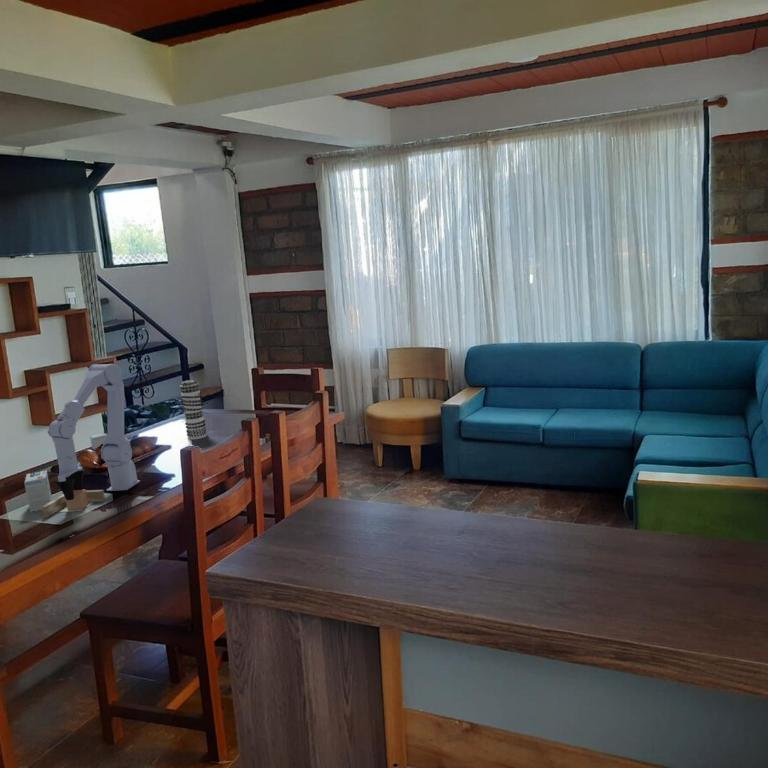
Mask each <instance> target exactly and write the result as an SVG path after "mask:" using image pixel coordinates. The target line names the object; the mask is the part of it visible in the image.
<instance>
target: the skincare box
mask: <svg viewBox="0 0 768 768" xmlns="http://www.w3.org/2000/svg"><path fill="white" fill-rule="evenodd" d="M89 436H90V437H89V438H90V444H91V449H92V448H93V449H95V448H97V447H99V446H100V445H101V444H103V441H104V439H105V438H106V437H107V436H108V433H100V434H99V433H98V434H95V435H89Z"/></svg>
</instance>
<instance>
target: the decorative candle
mask: <svg viewBox="0 0 768 768" xmlns="http://www.w3.org/2000/svg"><path fill="white" fill-rule="evenodd" d="M179 387H180V391H181V392H180V394H181V398H180V401H181V402H180V403H181V406H182V407H181V408H182V412H183V413H184V417H185V419H184V421H185V422H184V425H185V429H186V430H185V432H186V436H187V439H188V440H199V439H200V440H201V439H203V438H206V437H207V436H208V434H207V433H208V431H207V427H206V419H205V417H204V413H203V411H204V407H202V406H203V405H204V403H202V402H203V399H201V398H203V395H202V391H201V390H200V387H199V382H197V381H196V380H195V379H189V380H187V379H186V380H184V381H182V382H181V384H180V385H179Z"/></svg>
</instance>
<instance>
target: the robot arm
mask: <svg viewBox="0 0 768 768" xmlns="http://www.w3.org/2000/svg"><path fill="white" fill-rule="evenodd" d="M99 387H102V388H104V390H105V391H106V392H107V397H106V398H107V435H108V436H107V437H106V438H105V439H104V441H103V446H102V449H101V458H102V459H103V460H104V461H105V462H106V464H107V465H106V466H107V471H108V474H109V475H108V476H109V481H110V486H109V488H107V489H106V492H110V491H111V492H112V491H114V492H115V491H116V492H117V491H128V490H130V489H131V488H132V487H134V486H136V485H137V484H139V483H140V482H141V479H138V475H137V470H136V469H137V468H136V465H135V462H134V461H132V460H131V459H132V457H133V450H132V446H131V441H130V440H129V438H127V436H125V385H124V381H123V369H121V368H120V367H119V366H118V365H117V364H116V363H108V364H106V363H105V364H103V363H102V364H97V363H94V364H91V365H90V366H89V367H88V370H87V371H86V372H85V378H84V380H83V382H82V384H81V386H80V388H79V390H78V391H77V394H76V395H75V396H74V398H73V399H72V400H69V401H67V402H65V404H64V408H63V409H62V410H61V412H60V414H59V415H57V418H56V419H55V420H54V421H52V422H51V423H50V424H49V426H48V430H47V434H48V436H49V437H51V439H52V442H53V443H54V447H55V455H56V458H57V464H58V468H59V469H58V470H59V471H58V472H59V473H58V476H57V479H56V480H55V485H57V486H58V488H59V489H60V490H61V492H62V495H63V494H64V496H65V498H66V500H73V499H74V490H83V482H84V481H83V480H84V475H85V472H86V469H85V468H83V466H82V465H81V462H79V461H78V458H77V452H76V448H75V446H76V445H75V442H74V437H73V436H74V434H75V433H76V426H77V422H78V421H79V419H80V418H81V416H82V415H83V414H84V412H85V406H84V405H85V404H86V402H87V401H88V399H90V397H91V395H92V394H93V392H95V390H96V388H99Z"/></svg>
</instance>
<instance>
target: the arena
mask: <svg viewBox="0 0 768 768" xmlns="http://www.w3.org/2000/svg"><path fill="white" fill-rule="evenodd" d="M86 493H87V498H88V504H87V505H86V506H85V507H84V508H83V509H76V510H68V509H67V504H66V498H65V496H64V494H63V493H62V494H61V495H60V496H57V497H56V498H54V499H52V501H51V502H49V503H47V504H46V505H44V506H42V507H41V508H42V510H41V511H42V513H41V514H42V517H43V518H49V517H50V516H52V515H54V514H56V513H57V512H58V513H69V512H70V513H73V511H74V512H75V511H79V512H82V511H83V510H85V509H87V508H88V507H91V505H93V504H94V503H95V502H104V501H106V495H105V490H104V489H93V490H92V489H91V490H89V489H88V490H86ZM55 512H56V513H55ZM75 513H76V512H75Z"/></svg>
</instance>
